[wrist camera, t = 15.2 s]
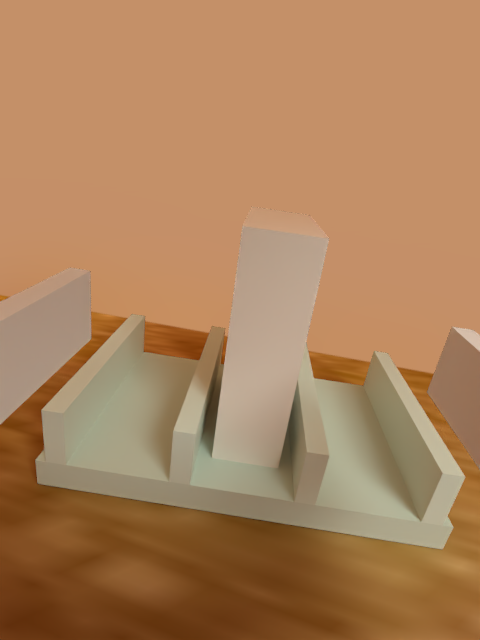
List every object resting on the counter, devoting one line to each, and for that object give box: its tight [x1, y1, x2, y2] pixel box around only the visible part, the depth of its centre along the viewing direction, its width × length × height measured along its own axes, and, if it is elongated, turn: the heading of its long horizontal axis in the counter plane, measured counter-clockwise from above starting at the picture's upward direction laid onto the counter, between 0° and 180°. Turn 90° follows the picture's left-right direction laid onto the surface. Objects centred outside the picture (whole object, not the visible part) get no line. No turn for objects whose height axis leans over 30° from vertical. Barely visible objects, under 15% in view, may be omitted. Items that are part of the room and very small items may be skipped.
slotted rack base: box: [35, 314, 465, 549], centre depth 23 cm, size 20×12×4 cm, turn 86°
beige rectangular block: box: [212, 207, 329, 468], centre depth 21 cm, size 4×8×12 cm, turn 175°
